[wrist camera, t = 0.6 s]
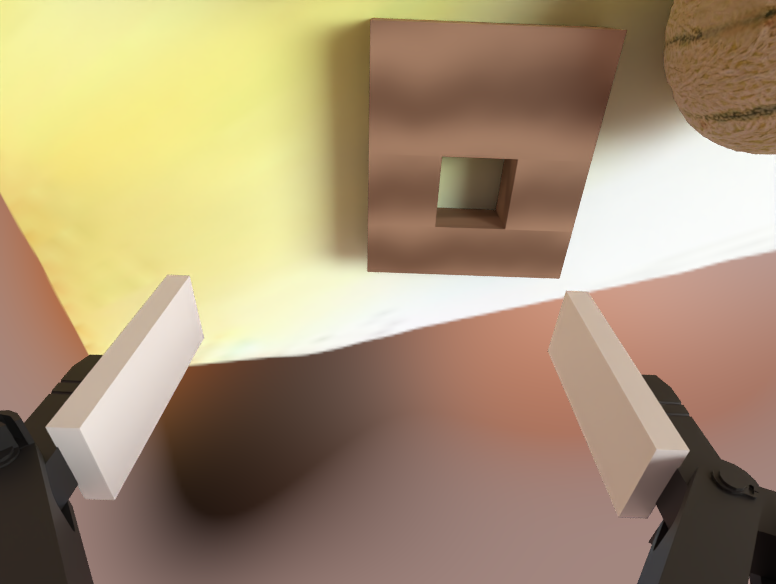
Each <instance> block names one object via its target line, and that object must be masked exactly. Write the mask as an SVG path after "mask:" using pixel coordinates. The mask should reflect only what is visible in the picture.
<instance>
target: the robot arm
mask: <svg viewBox="0 0 776 584" xmlns="http://www.w3.org/2000/svg"><path fill="white" fill-rule="evenodd" d="M203 339H204V335H203V331H202V327H201V323H200V318H199V314H198V310H197V305H196V301H195V297H194V292H193V288H192V284H191V279H190V276H186V275H167V276H166V277H165V278H164V280H163V281H162V282H161V283H160V285H159V286H158V287H157V288H156V290H155V291H154V292H153V293H152V295H151V296H150V297H149V298H148V300H147V301H146V302H145V303H144V305H143V306H142V307H141V308H140V310H139V311H138V312H137V313H136V315H135V316H134V317H133V318H132V320H131V321H130V322H129V323H128V325H127V326H126V327H125V328H124V330H123V331H122V332H121V333H120V335H119V336H118V337H117V338H116V340H115V341H114V342H113V343H112V345H111V346H110V347H109V348H108V350H107V351H106V352H105V353H104V355H89V356H87V357H86V358H84V359H83V360H81V361H80V362H78V363H77V364H75V365H74V366H73V367H72V368H71V369H70V370H69V371H68V372H67V374H66V375H65V376H64V377H63V378H62V379H61V383H58V384H57V385H56V386H55V388H54V389H53V390H52V393H51V394H49V395H48V396H47V397H46V398H45V399H44V401H43V402H42V403H41V404H40V405H39V406H38V408H37V409H36V410H35V411H34V412H33V413H32V414H31V416H30V417H29V418H28V419H27V420H26V422H25V423H23V421H22V419H21V418H20V416H19V415H18V414H17V413H15V412H12V411H9V410H6V411H0V584H94V583H93V580H92V576H91V572H90V569H89V565H88V561H87V558H86V554H85V550H84V547H83V543H82V539H81V536H80V533H79V529H78V525H77V521H76V517H75V514H74V510H73V506H72V505H71V503H70V501H69V498H70V496H71V495H72V493H73V492H74V490H75V488H76V487H77V485H78V487H79V489H80V491H81V493H82V495H83V496H84V498H85V499H103V500H115V498H116V497H117V495H118V493H119V491H120V489H121V487H122V486H123V484H124V482H125V480H126V478H127V477H128V475H129V473H130V471H131V469H132V467H133V466H134V464H135V462H136V460H137V459H138V457H139V455H140V453H141V451H142V449H143V447H144V446H145V444H146V442H147V440H148V438H149V436H150V435H151V433H152V431H153V429H154V428H155V426H156V424H157V422H158V420H159V419H160V417H161V415H162V413H163V411H164V409H165V408H166V406H167V404H168V402H169V400H170V398H171V397H172V395H173V393H174V391H175V389H176V388H177V386H178V383H179V382H180V380H181V378H182V377H183V375H184V373H185V371H186V369H187V368H188V366H189V364H190V362H191V360H192V359H193V357H194V355H195V353H196V351H197V349H198V348H199V346H200V344H201V342H202V340H203ZM548 352H549V354H550V357H551V359H552V362H553V364H554V366H555V369H556V371H557V374H558V376H559V378H560V380H561V383H562V385H563V388H564V390H565V392H566V395H567V397H568V399H569V402H570V404H571V407H572V409H573V411H574V413H575V416H576V418H577V421H578V423H579V425H580V428H581V430H582V432H583V435H584V437H585V439H586V442H587V444H588V447H589V449H590V451H591V454H592V456H593V458H594V461H595V463H596V465H597V467H598V470H599V472H600V474H601V477H602V479H603V482H604V484H605V487H606V489H607V491H608V494H609V496H610V498H611V501H612V503H613V505H614V508H615V510H616V512H617V515H618V517H621V518H648V517H649V515H650V514H651V512H652V510H653V509H654V507H655V506H656V505H657V507H658V509H659V511H660V513H661V515H662V517H663V521H662V522H661V524H660V526H659V527H658V529H657V530H656V531H655V533H654V534H653V536H652V538H651V539H650V541H649V543H651V544H652V546H651V549H650V552H649V554H648V557H647V559H646V562H645V565H644V567H643V570H642V572H641V575H640V578H639V580H638V583H637V584H748V579H749V577H750V584H776V492H775V491H772V490H768V489H765V488H762V487H759V485H758V484H757V482H756V481H755V480H754V479H753V478H752V477H751V476H750V475H749V474H748V473H747V472H745V471H744V470H742V469H741V468H739V467H738V466H736V465H734V464H732V463H729V462H727V461H724V460H721V459H720V457H719V456H718V454H717V453H716V451H715V450H714V449H713V447H712V446H711V445H710V443H709V441H708V440H707V439H706V437H705V436H704V435H703V433H702V431H701V430H700V428H699V427H698V426H697V424H696V423H695V421H694V420H693V419H692V417H690V416H689V413H688V411H687V410H686V408H685V407H684V405H681V401H680V400H679V398H678V397H677V395H676V394H675V393H674V391H673V390H672V388H671V387H670V386H668V385H667V384H666V383H665V382H663V381H662V380H661V379H660V378H658V377H657V376H656V375H641V374H640V372H639V371H638V369H637V367H636V366H635V364H634V363H633V361H632V360H631V358H630V357H629V355H628V353H627V352H626V350H625V349H624V347H623V346H622V344H621V343H620V341H619V340H618V338H617V336H616V335H615V333H614V332H613V330H612V328H611V327H610V325H609V324H608V322H607V321H606V319H605V318H604V316H603V314H602V313H601V311H600V310H599V308H598V307H597V305H596V304H595V302H594V300H593V299H592V297H591V296H590V294H589V293H588V292H583V291H566V293H565V296H564V300H563V303H562V306H561V309H560V313H559V316H558V319H557V323H556V326H555V329H554V333H553V336H552V339H551V343H550V346H549V349H548Z"/></svg>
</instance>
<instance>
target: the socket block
mask: <svg viewBox="0 0 776 584" xmlns="http://www.w3.org/2000/svg"><path fill="white" fill-rule="evenodd" d="M626 32H627V30H622V29H613V28H605V27H585V26H561V25H536V24H511V23H486V22H461V21H437V20H412V19H387V18H372V19H371V20H370V95H369V180H368V265H367V272H390V273H418V274H446V275H474V276H501V277H529V278H557V279H559V278H560V274H561V271H562V267H563V263H564V260H565V256H566V252H567V249H568V245H569V241H570V238H571V234H572V230H573V227H574V223H575V219H576V216H577V212H578V208H579V205H580V201H581V197H582V194H583V190H584V186H585V183H586V179H587V175H588V172H589V168H590V164H591V161H592V157H593V153H594V150H595V146H596V142H597V139H598V135H599V131H600V128H601V124H602V120H603V117H604V113H605V109H606V106H607V102H608V98H609V95H610V91H611V87H612V84H613V80H614V76H615V73H616V69H617V65H618V62H619V58H620V54H621V51H622V47H623V43H624V40H625V36H626ZM442 156H445V157H471V158H498V159H504V164H503V170H502V176H501V182H500V188H499V194H498V200H497V205H496V210H485V209H458V208H437V202H438V192H439V182H440V171H441V161H442Z"/></svg>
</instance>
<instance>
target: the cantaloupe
mask: <svg viewBox="0 0 776 584" xmlns="http://www.w3.org/2000/svg"><path fill="white" fill-rule="evenodd" d="M663 60H664V70H665V74H666V78H667V83H668V84H669V85H670V86H671V88H672V91H673V99H674V100H675V102H676V104H677V105H678V107H679V110H680V112H681V113H682V114H683V116H684V117H685V119H686V121H687V122H688V123H689V124H690V125H691V126H692V127H693V128H694V129H695V130H696V131H698V132H699V133H700V134H701V135H702V136H704V137H706V138H708V139H709V140H711V141H712V142H714V143H716V144H718V145H721V146H724V147H726V148H728V149H732V150H735V151H742V152H747V153H751V154H776V0H674V4H673V5H672V7H671V11H670V17H669V20H668V23H667V25H666V31H665V48H664V57H663Z"/></svg>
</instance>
